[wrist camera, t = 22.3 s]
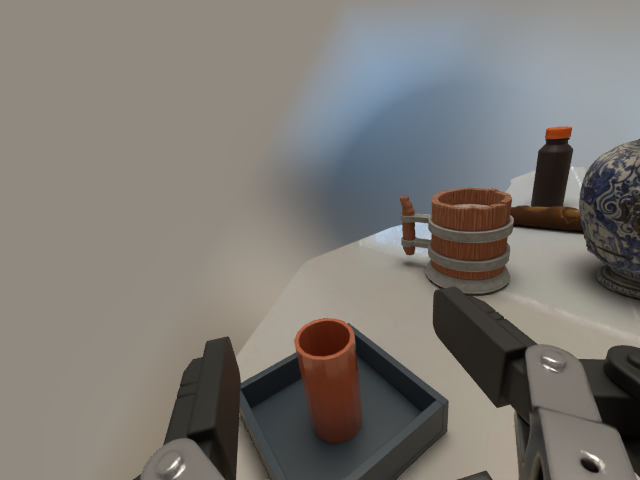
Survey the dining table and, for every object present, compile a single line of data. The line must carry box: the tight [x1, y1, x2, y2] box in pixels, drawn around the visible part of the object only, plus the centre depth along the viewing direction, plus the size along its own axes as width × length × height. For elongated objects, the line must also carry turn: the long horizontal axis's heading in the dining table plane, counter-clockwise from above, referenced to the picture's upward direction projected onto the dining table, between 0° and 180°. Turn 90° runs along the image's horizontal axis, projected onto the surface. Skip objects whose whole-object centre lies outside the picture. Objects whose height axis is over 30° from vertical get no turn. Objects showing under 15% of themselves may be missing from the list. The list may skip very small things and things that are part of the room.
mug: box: [400, 188, 514, 294], centre depth 55 cm, size 14×19×15 cm
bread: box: [510, 206, 583, 231], centre depth 69 cm, size 38×5×5 cm, turn 53°
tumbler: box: [294, 318, 363, 443], centre depth 31 cm, size 6×6×11 cm
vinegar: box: [531, 127, 573, 207], centre depth 77 cm, size 7×7×20 cm
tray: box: [239, 323, 449, 480], centre depth 33 cm, size 17×16×4 cm
